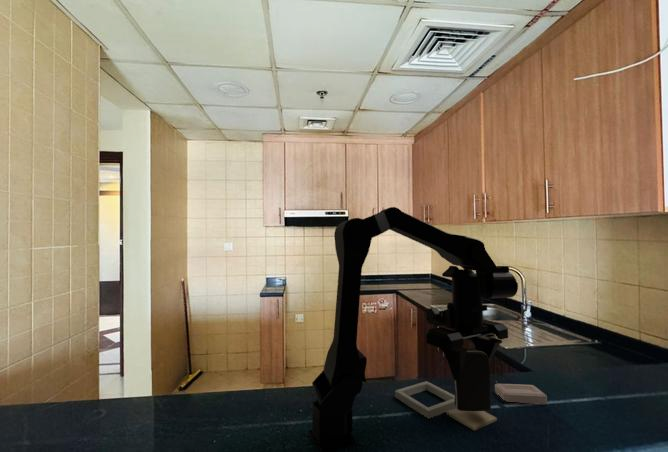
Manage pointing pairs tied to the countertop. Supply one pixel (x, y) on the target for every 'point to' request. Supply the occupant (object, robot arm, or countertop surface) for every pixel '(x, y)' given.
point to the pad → (472, 418)
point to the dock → (422, 409)
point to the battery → (474, 383)
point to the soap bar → (520, 393)
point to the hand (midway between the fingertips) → (469, 376)
